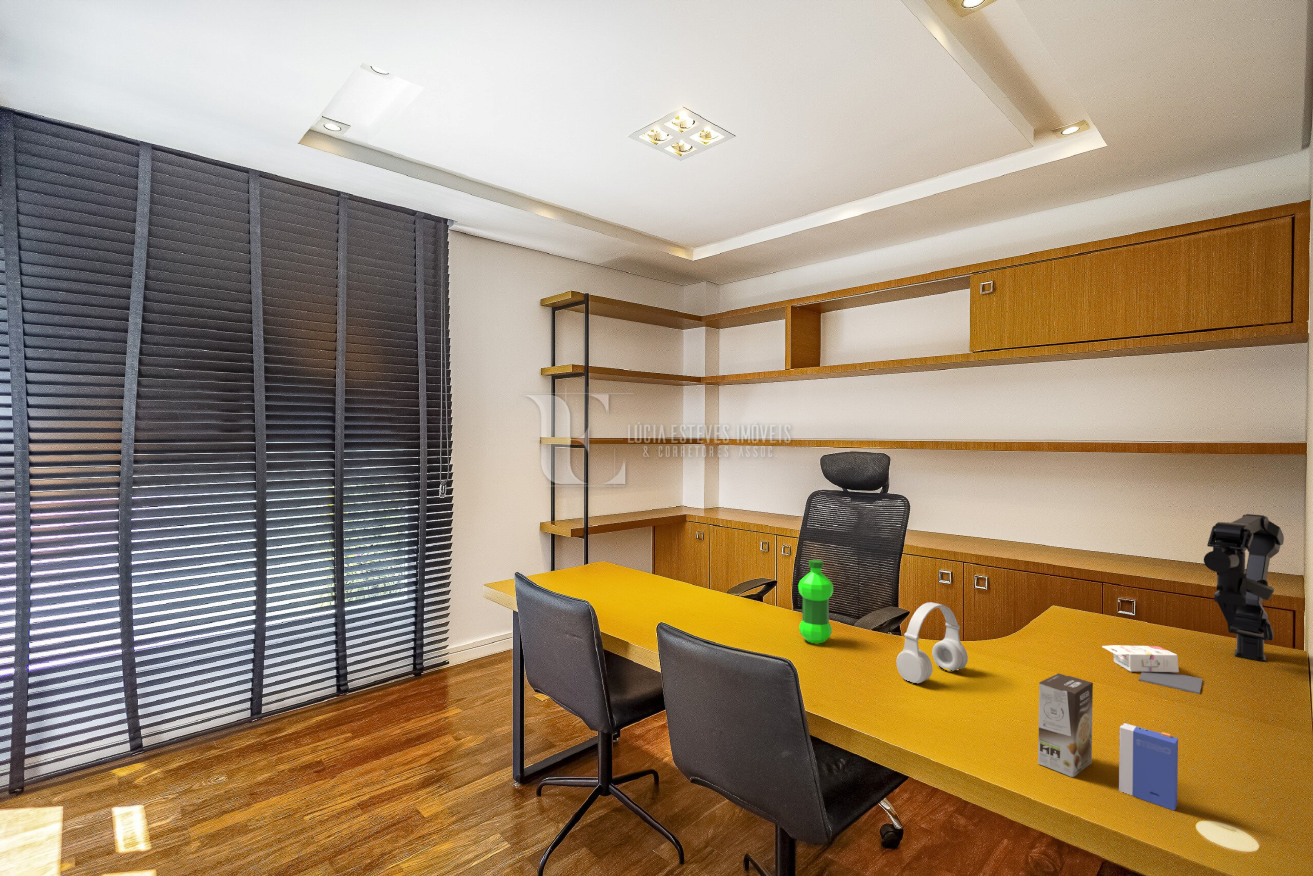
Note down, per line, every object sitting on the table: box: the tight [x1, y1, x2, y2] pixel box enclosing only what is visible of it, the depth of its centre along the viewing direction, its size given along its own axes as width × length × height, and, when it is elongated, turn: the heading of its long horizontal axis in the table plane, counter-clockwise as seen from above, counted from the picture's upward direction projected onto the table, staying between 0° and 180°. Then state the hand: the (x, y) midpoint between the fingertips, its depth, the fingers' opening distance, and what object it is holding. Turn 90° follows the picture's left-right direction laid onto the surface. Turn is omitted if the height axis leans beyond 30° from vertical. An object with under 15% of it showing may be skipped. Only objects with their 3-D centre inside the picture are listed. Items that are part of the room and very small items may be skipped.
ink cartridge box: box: [1101, 644, 1180, 673], centre depth 169 cm, size 9×5×15 cm
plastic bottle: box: [797, 559, 834, 644], centre depth 190 cm, size 10×10×25 cm
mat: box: [1138, 672, 1203, 695], centre depth 161 cm, size 12×12×1 cm
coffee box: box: [1037, 673, 1094, 778], centre depth 120 cm, size 9×6×16 cm
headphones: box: [895, 601, 969, 684], centre depth 163 cm, size 20×8×19 cm, turn 121°
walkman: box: [1118, 722, 1179, 811], centre depth 109 cm, size 8×3×12 cm, turn 42°
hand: (1230, 623), depth 171 cm, fingers closed
